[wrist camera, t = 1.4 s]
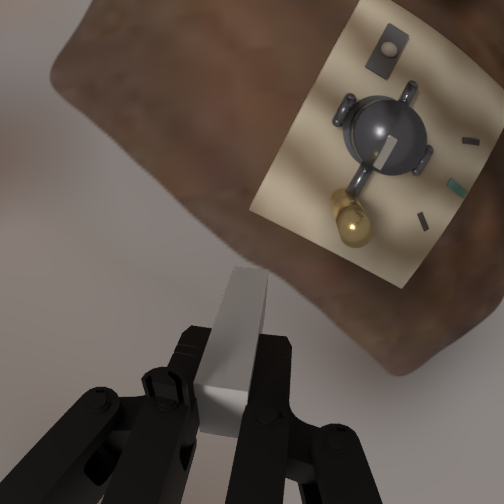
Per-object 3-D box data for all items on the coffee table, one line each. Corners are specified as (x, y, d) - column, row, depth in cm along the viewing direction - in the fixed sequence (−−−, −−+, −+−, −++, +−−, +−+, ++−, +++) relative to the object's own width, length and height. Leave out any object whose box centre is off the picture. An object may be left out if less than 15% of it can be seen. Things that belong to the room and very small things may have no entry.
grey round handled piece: (366, 53, 21) (389, 38, 15) (449, 111, 22) (491, 118, 16) (292, 188, 27) (291, 216, 21) (376, 234, 28) (396, 273, 22)
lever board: (363, -7, 20) (371, -19, 17) (504, 100, 22) (524, 103, 19) (251, 203, 31) (246, 215, 28) (397, 279, 33) (405, 297, 30)
